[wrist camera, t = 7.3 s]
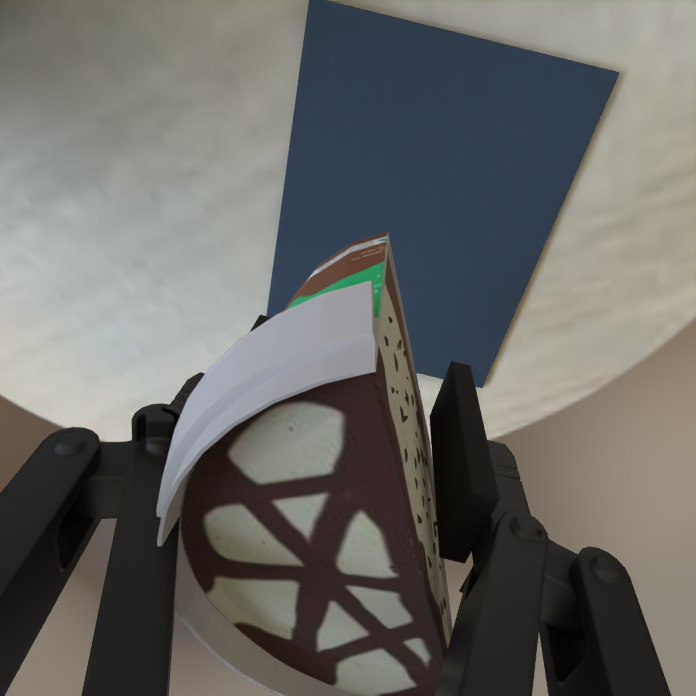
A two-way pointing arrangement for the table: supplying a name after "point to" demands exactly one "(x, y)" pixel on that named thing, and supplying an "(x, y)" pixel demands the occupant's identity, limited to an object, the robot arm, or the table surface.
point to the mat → (431, 169)
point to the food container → (314, 496)
